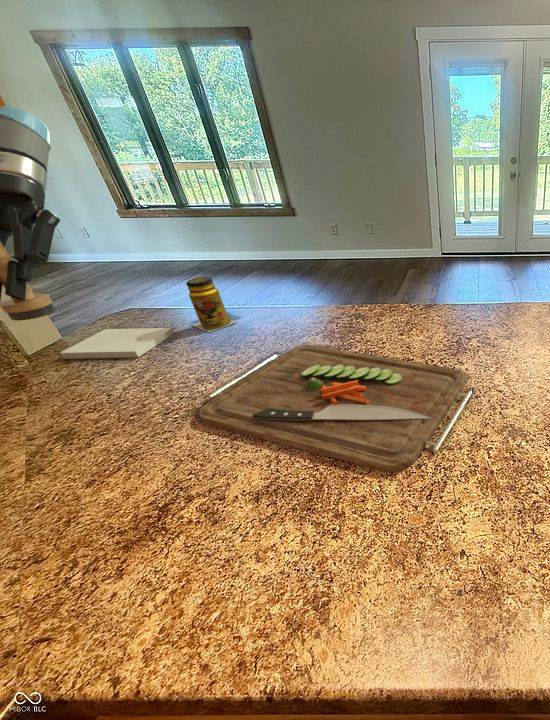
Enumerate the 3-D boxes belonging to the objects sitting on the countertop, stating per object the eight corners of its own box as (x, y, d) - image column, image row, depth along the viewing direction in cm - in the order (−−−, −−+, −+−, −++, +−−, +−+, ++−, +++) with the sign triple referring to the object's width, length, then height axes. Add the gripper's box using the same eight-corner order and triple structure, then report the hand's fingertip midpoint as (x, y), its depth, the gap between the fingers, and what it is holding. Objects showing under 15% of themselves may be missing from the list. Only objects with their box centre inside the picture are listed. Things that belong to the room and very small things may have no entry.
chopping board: (481, 379, 74) (481, 366, 73) (421, 481, 52) (420, 465, 51) (294, 347, 87) (290, 334, 85) (182, 418, 65) (174, 403, 63)
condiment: (209, 333, 93) (190, 286, 87) (191, 325, 97) (172, 280, 91) (238, 322, 99) (222, 277, 93) (220, 315, 102) (204, 272, 96)
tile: (63, 358, 82) (59, 352, 82) (108, 334, 93) (105, 328, 92) (138, 357, 83) (135, 351, 82) (174, 333, 93) (172, 327, 93)
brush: (-2, 321, 69) (-56, 243, 62) (33, 308, 75) (-14, 234, 68) (34, 320, 69) (-16, 242, 62) (66, 307, 75) (23, 234, 68)
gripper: (-62, 171, 67) (-83, 293, 61) (49, 169, 70) (39, 284, 65) (-18, 199, 74) (-33, 311, 68) (81, 197, 77) (75, 302, 72)
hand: (2, 298), depth 66 cm, fingers closed on brush, 3 cm apart
